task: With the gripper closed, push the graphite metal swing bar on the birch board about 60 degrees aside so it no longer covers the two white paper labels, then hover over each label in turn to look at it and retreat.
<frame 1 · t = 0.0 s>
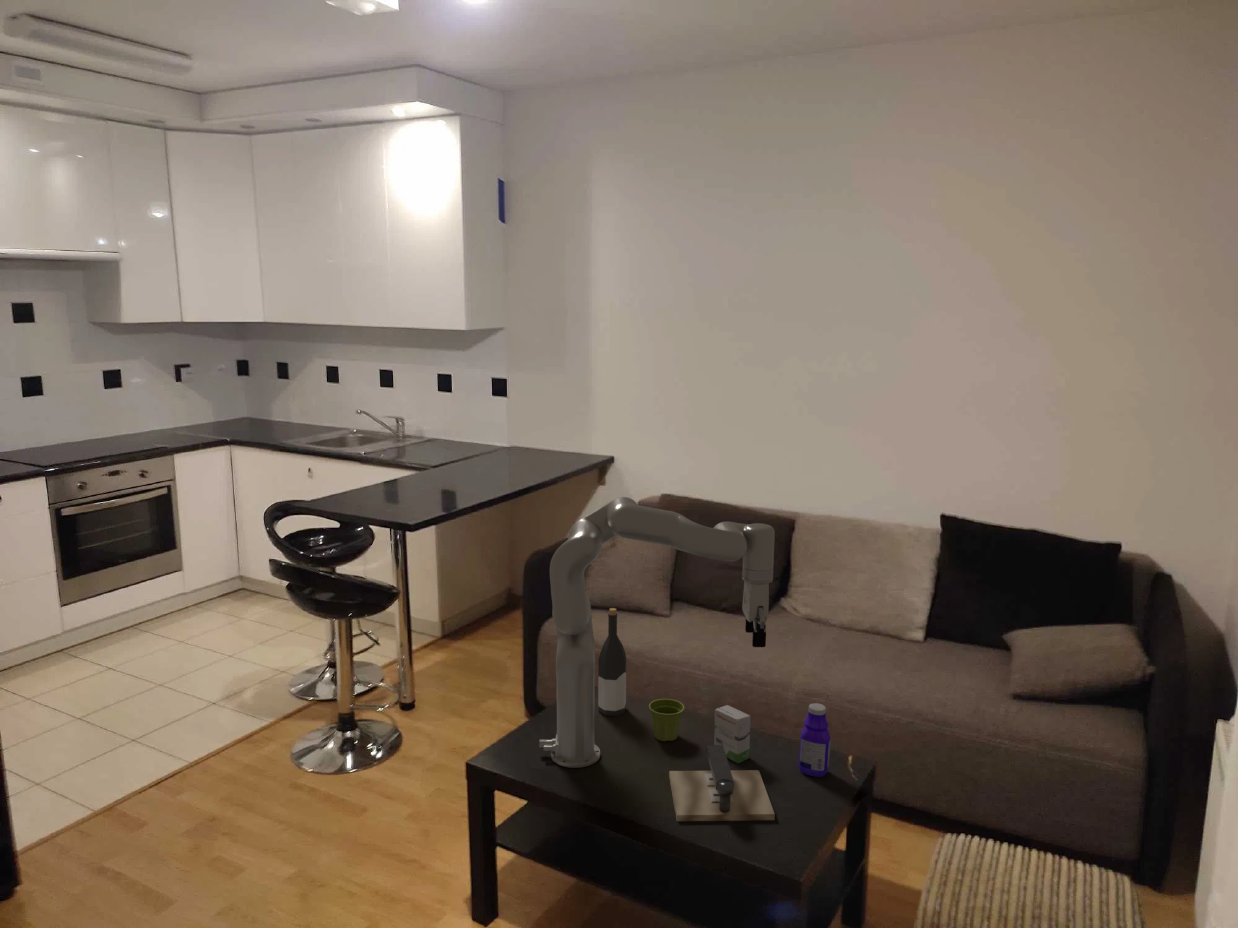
hand: (755, 639, 223), 31 cm above the table, tool pointing down, fingers open, 9 cm apart
label board: (719, 797, 209), on the table
wine bottle: (612, 710, 253), on the table
plant pot: (665, 737, 238), on the table
ink box: (731, 755, 229), on the table
bottle: (813, 772, 220), on the table
swing bar: (720, 769, 208), point 7 cm above the table, hinge at 0.0°
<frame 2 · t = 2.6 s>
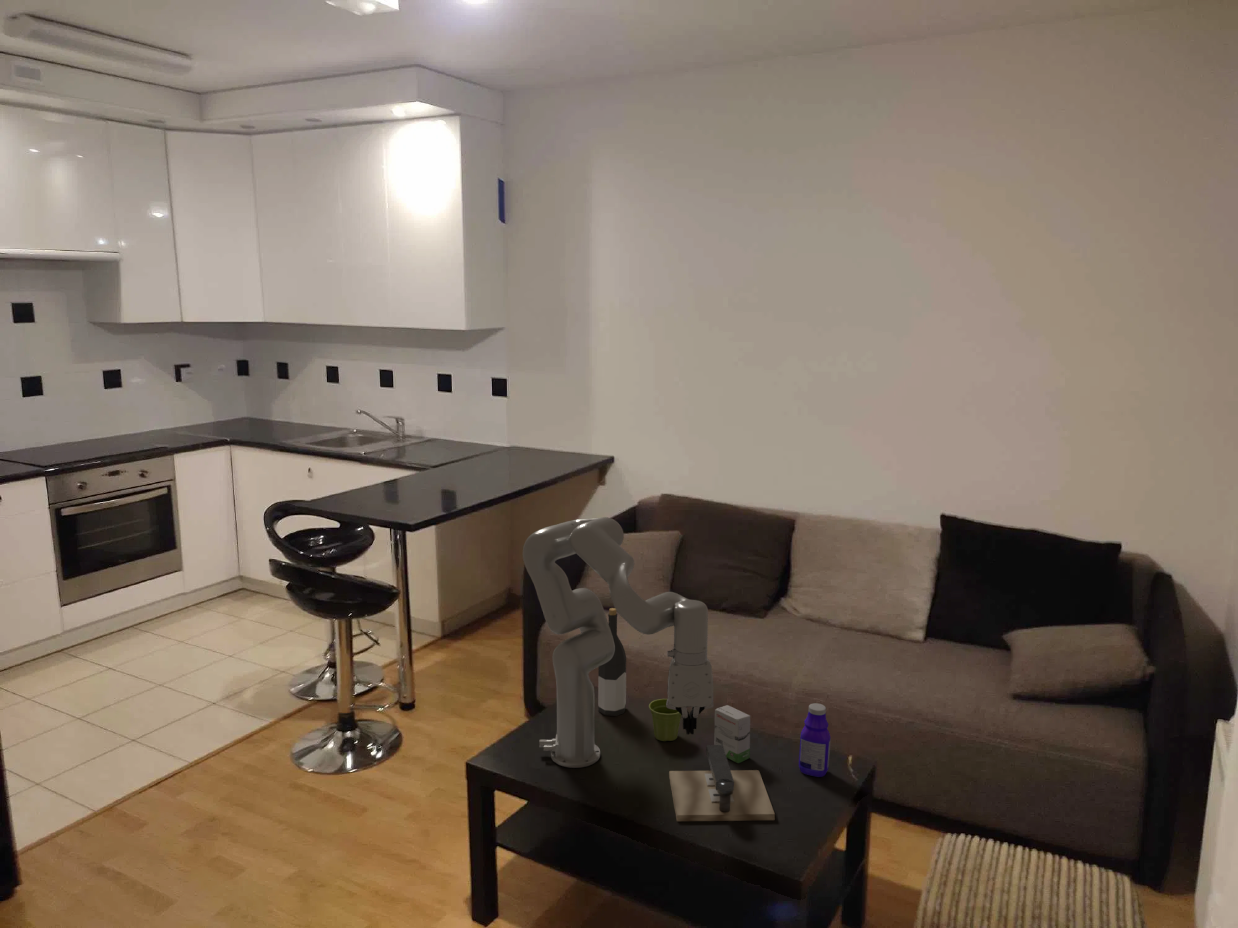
hand: (689, 731, 203), 18 cm above the table, tool pointing down, fingers closed
nothing on the table moved.
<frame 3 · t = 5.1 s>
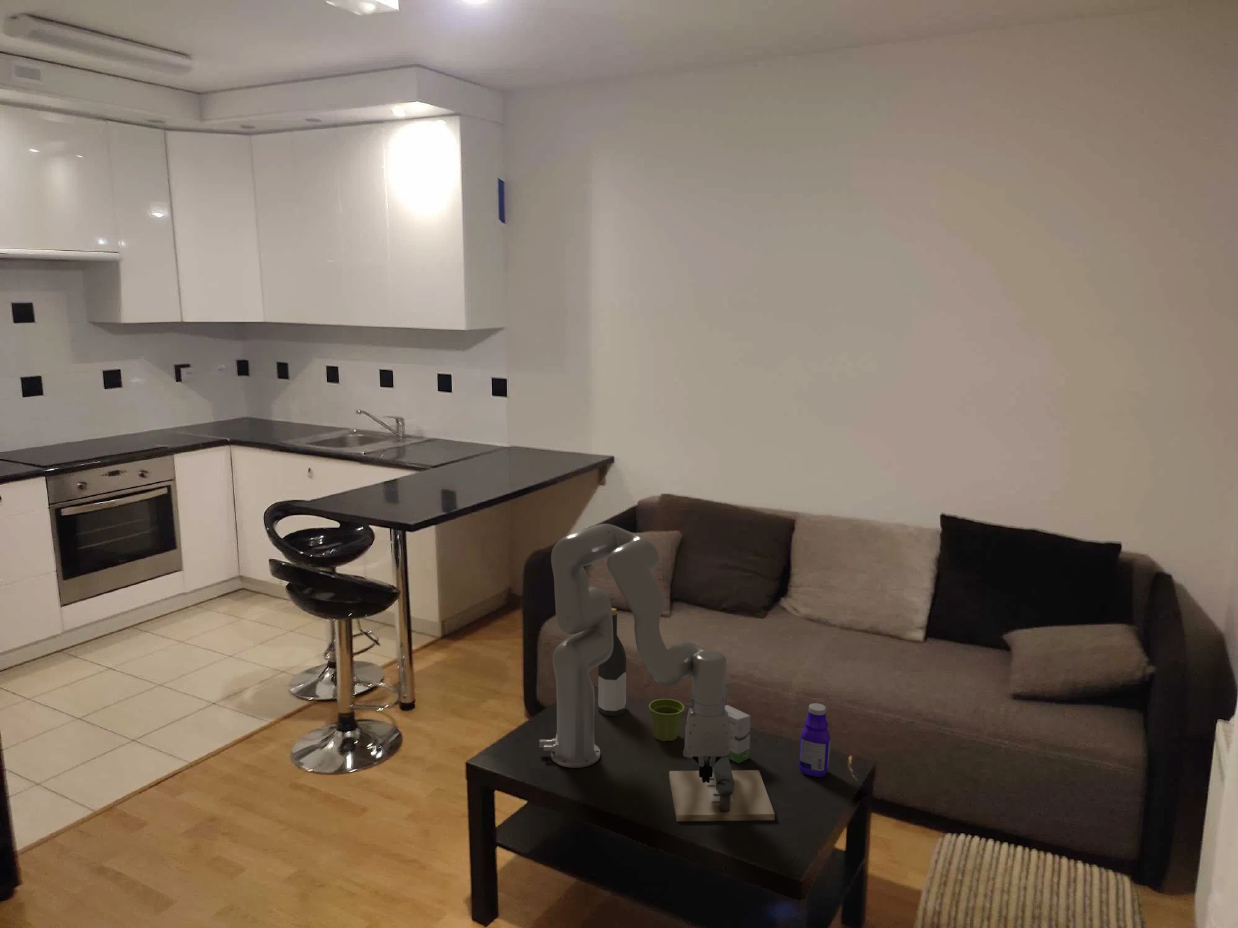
hand: (705, 779, 206), 6 cm above the table, tool pointing down, fingers closed
swing bar: (721, 769, 208), point 7 cm above the table, hinge at 2.4°, touching gripper
everything else where it was.
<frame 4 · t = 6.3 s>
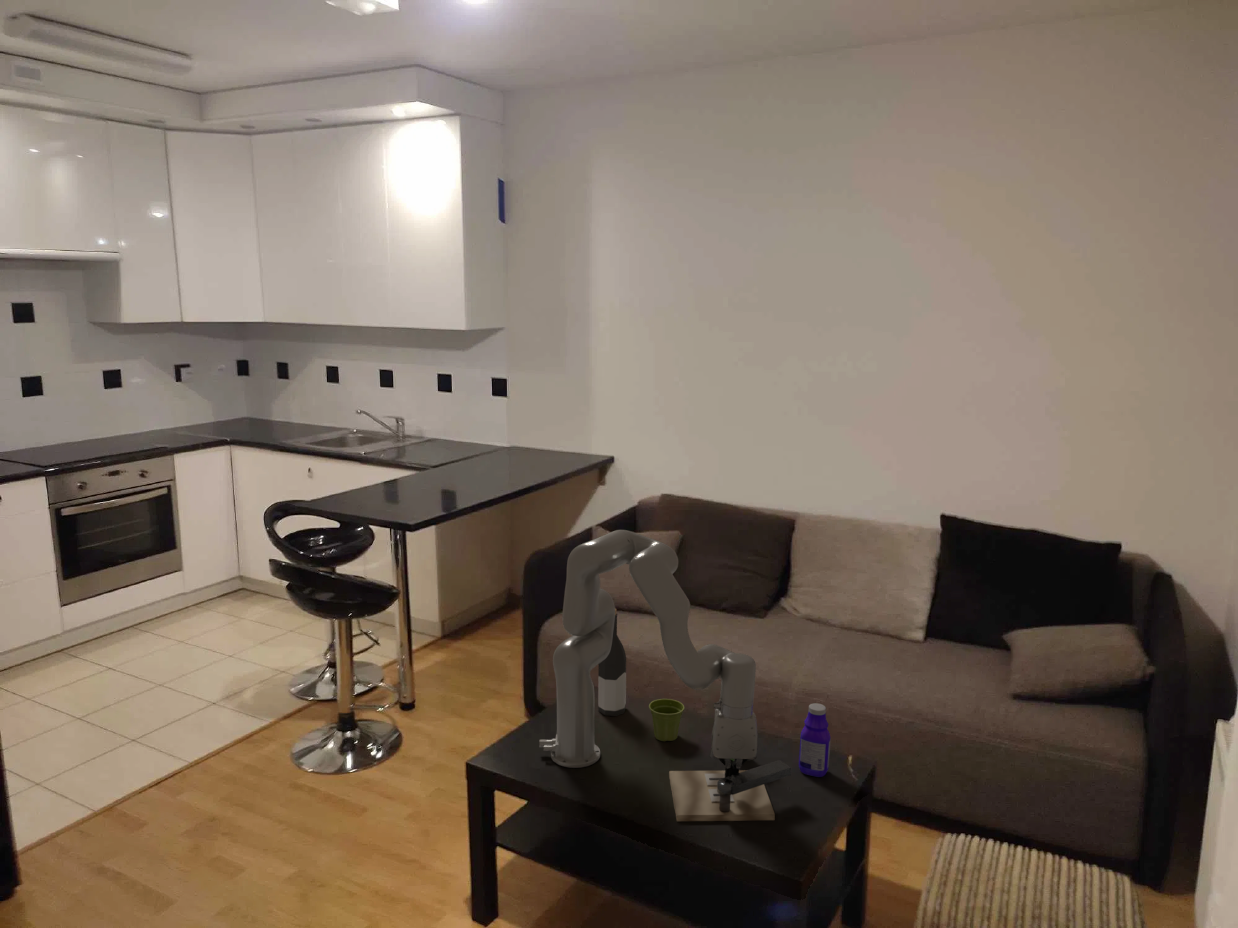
hand: (731, 781, 206), 5 cm above the table, tool pointing down, fingers closed
swing bar: (752, 777, 204), point 7 cm above the table, hinge at 61.6°, touching gripper
everything else where it was.
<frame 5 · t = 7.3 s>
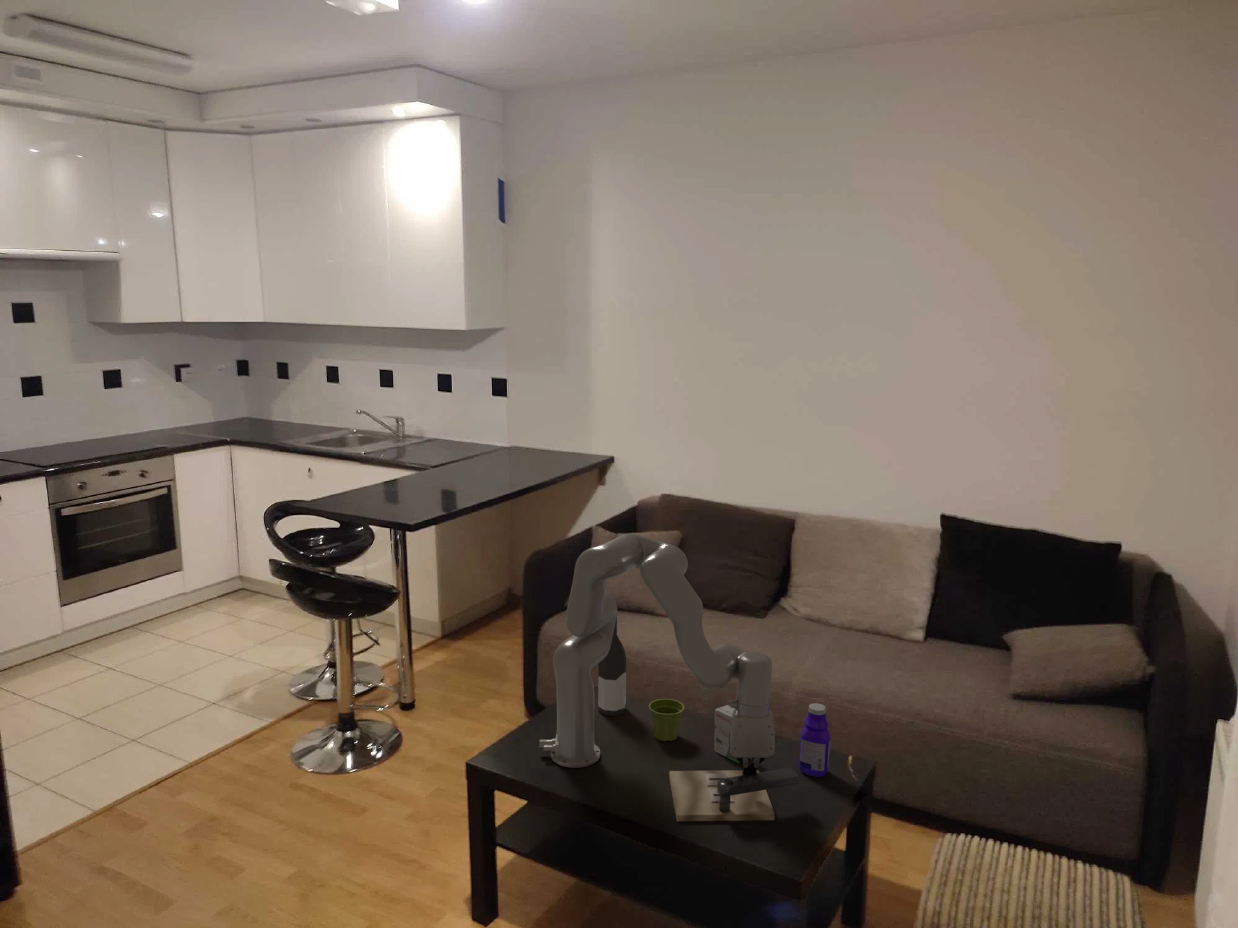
hand: (749, 780, 206), 5 cm above the table, tool pointing down, fingers closed
swing bar: (756, 781, 202), point 7 cm above the table, hinge at 74.3°, touching gripper
everything else where it was.
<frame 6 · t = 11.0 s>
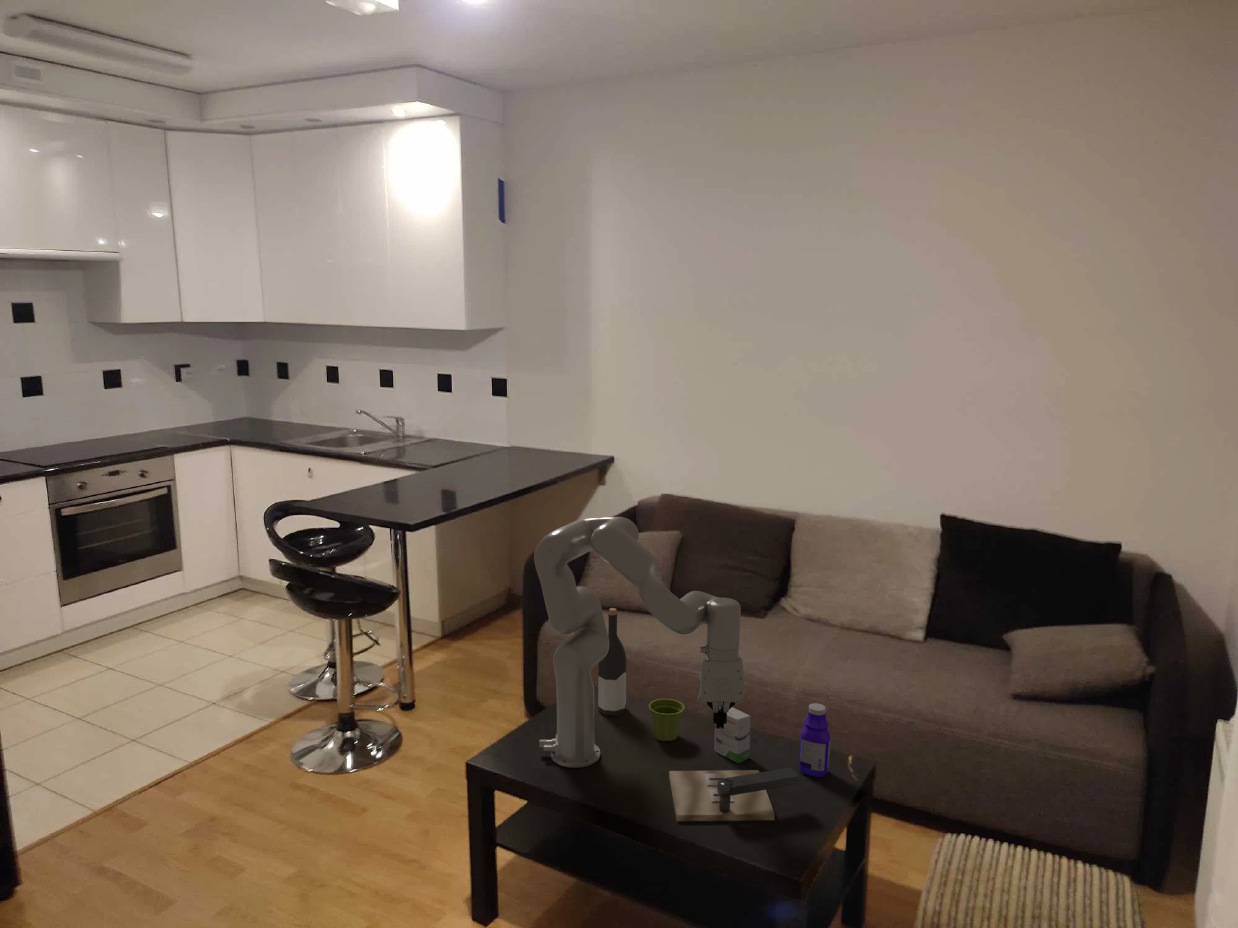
hand: (719, 725, 208), 17 cm above the table, tool pointing down, fingers closed
swing bar: (757, 781, 202), point 7 cm above the table, hinge at 74.5°
everything else where it was.
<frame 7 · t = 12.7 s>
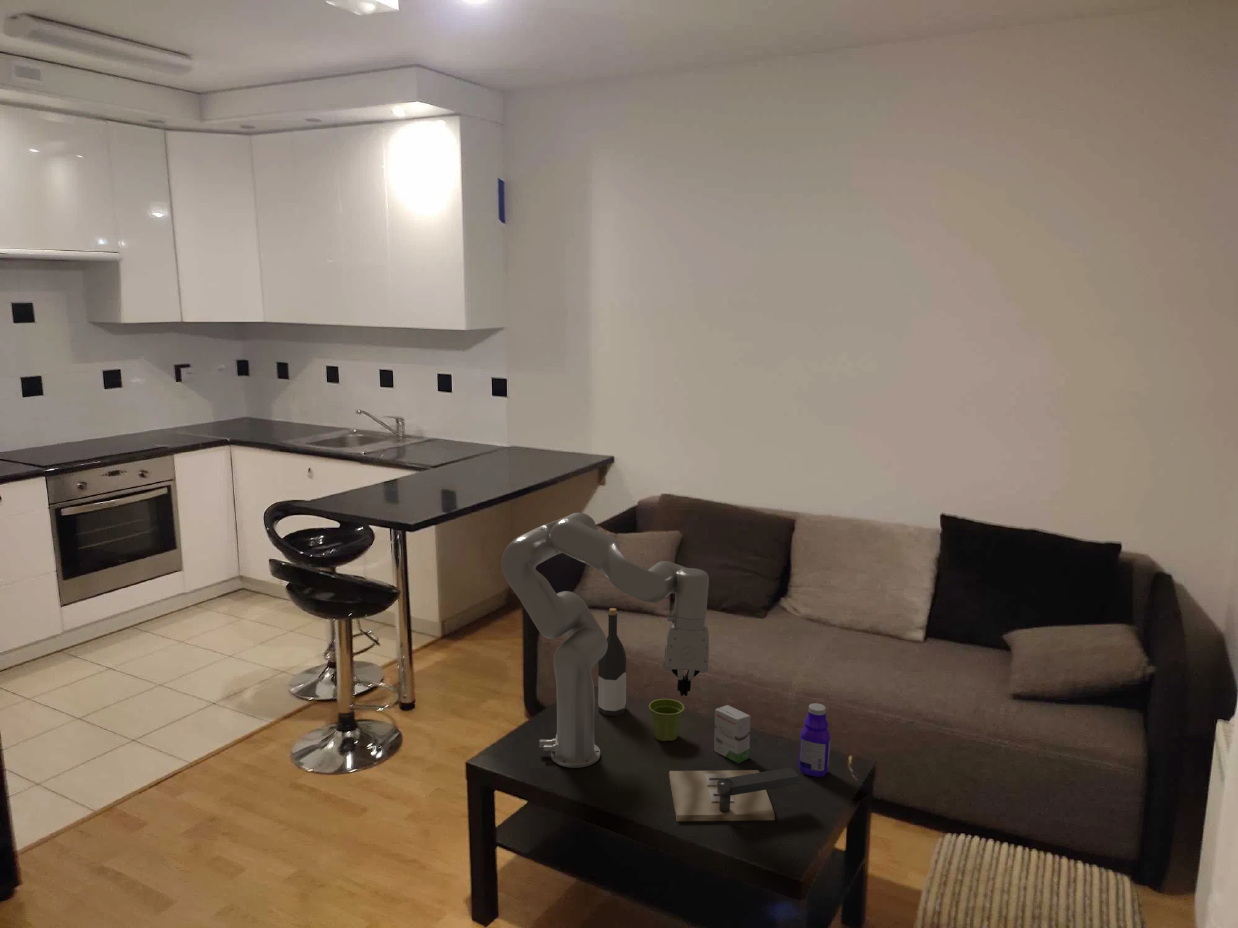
hand: (683, 693, 213), 22 cm above the table, tool pointing down, fingers closed
nothing on the table moved.
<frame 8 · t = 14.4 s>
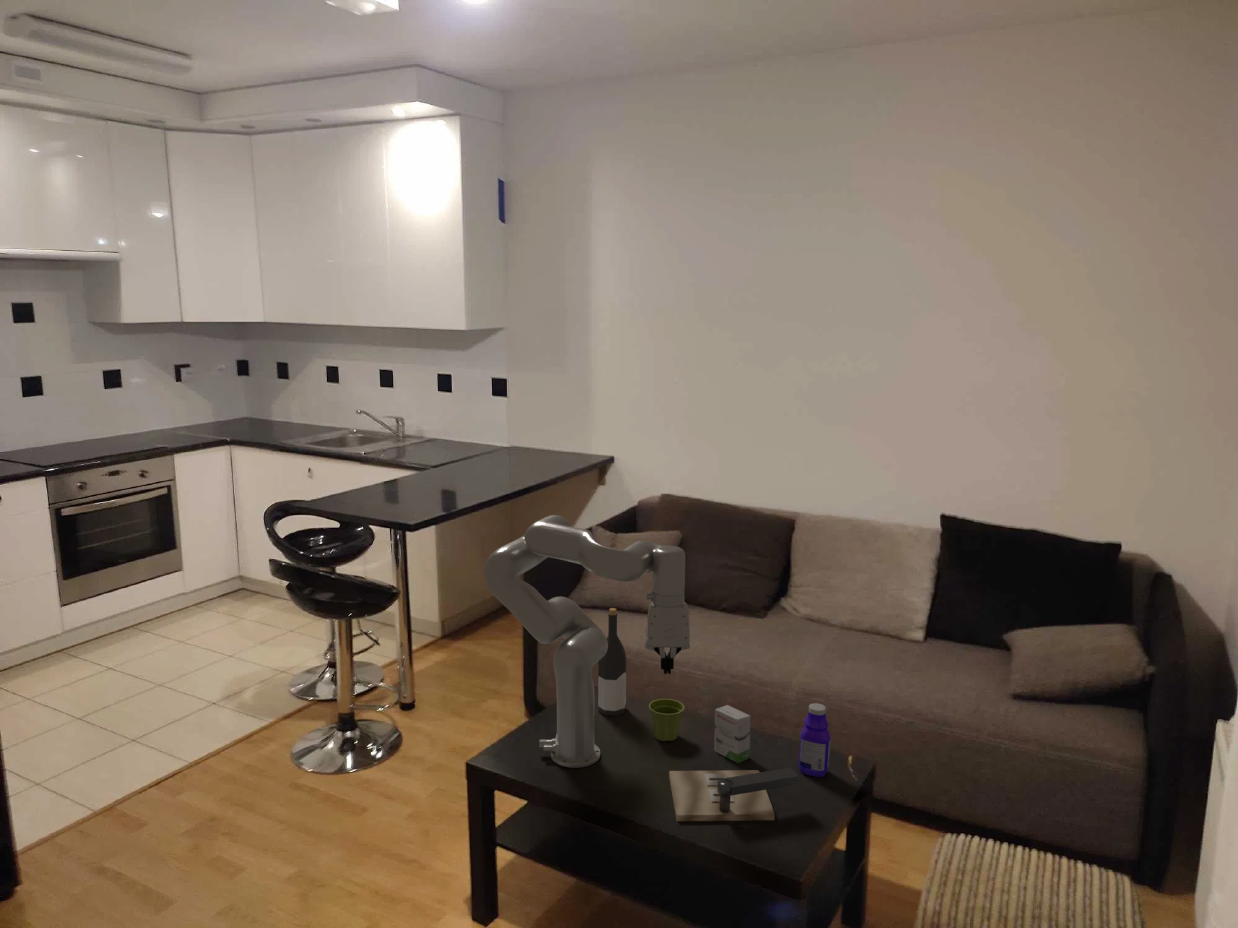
hand: (666, 671, 213), 27 cm above the table, tool pointing down, fingers closed
nothing on the table moved.
at the end: swing bar at +74° (first picture: +0°) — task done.
